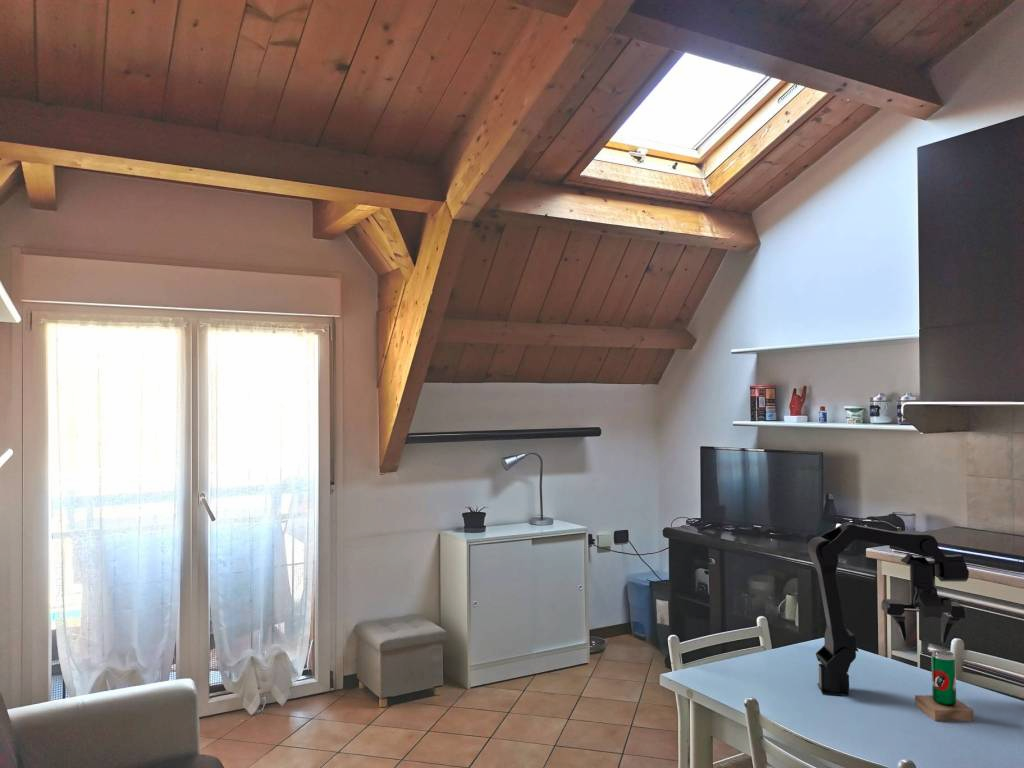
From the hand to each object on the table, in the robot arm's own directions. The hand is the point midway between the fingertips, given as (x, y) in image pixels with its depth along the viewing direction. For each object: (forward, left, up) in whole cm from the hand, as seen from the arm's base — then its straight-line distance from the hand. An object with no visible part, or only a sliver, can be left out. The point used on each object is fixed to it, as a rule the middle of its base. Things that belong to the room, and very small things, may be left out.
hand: (923, 641), depth 193 cm
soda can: (0, -13, -11) cm, 17 cm away
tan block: (0, -13, -13) cm, 18 cm away
